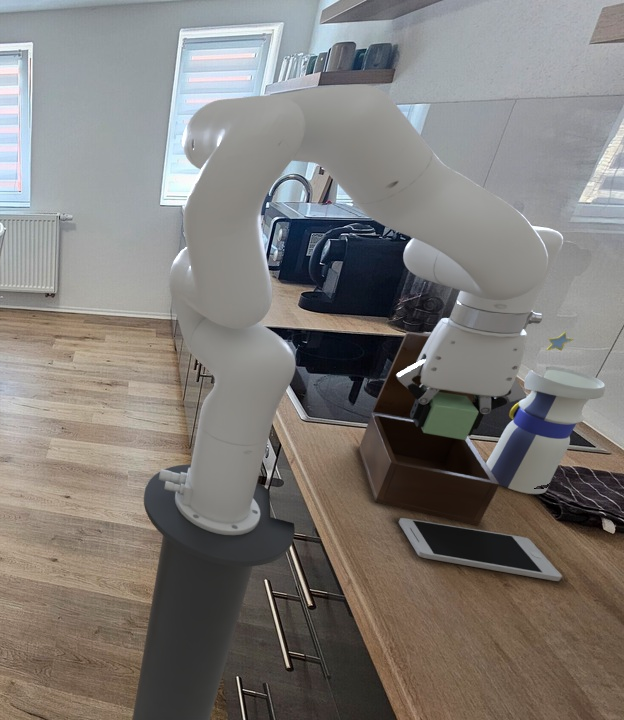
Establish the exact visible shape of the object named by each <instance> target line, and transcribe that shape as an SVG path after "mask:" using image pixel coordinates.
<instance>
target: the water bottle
mask: <svg viewBox="0 0 624 720" xmlns="http://www.w3.org/2000/svg"><path fill="white" fill-rule="evenodd" d="M548 341H549V342H550V343H551V344H550V345H549V346H548V347H547V348H546V351H550V350H554V349H556V350H558V351H560V352H561V351H563V349H564V346H565V344H567V343H570V342H572V341H574V338H570V337H567V332H566V331H564V332H563V333H561V334H560V335H559V336H558V337H551V338H548ZM523 383H524V385H523V388H524V389H525V390H529V391H531V392H529V394H528V395H526V397H525V398H523V399H520V400H518V402H516V403H515V404H514V405H513V406H512V407H511V409H510V410H509V413H508V416H509V418H510V419H511V421H510V422H509V423H508V424H507V425H506V427H505V428H504V430H503V432H502V434H501V435H500V437H499V440H498V442H497V443H496V445H495V447H494V448H493V450H492V452H491V453H490V455H489V457H488V459H487V461H486V462H485V463H486V464H487V466H488V467H489V469H490V471H491V472H492V474H493V475H494V477H495V478H496V480H497V481H498V483H499V484H500V485H499V486H502V487H504V488H507V489H510V490H513V491H516V492H520V493H524V494H530V495H540V494H544V493H546V492H547V490H548V489H549V486H548V487H547V488H544V489H534V488H536V487H537V486H541V485H547V484H549V483H550V484H551V481H552V480H553V477H554V475H555V474H556V472H557V469H558V467H559V465H560V463H561V461H562V460H563V458H564V456H565V454H566V453H567V451H568V448H569V446H570V444H571V437H570V436H571V435H572V432H573V431H574V429H575V427H576V426H577V424H580V423H583V421H584V419H585V417H584V415H583V409H584V406H585V405H586V404H587V403H588V401H589V400H596V399H597V400H598V399H601V398H602V397H603V396H604V395H605V388H606V384H605V383H604V381H602V380H600V379H599V378H597V377H595V376H592V375H589V374H587V373H584V372H581V371H578V370H574V369H570V368H565V367H559V366H553V365H551V366H546V367H545V371H544V373H543V375H539V374H537V373H536V372H535V371H534V370H533V369H530V370H529V371H528V373H526V376H525V378H524V380H523ZM550 484H549V485H550Z"/></svg>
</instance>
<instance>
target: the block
mask: <svg viewBox="0 0 624 720" xmlns="http://www.w3.org/2000/svg"><path fill="white" fill-rule="evenodd" d="M429 404H430V406H431V409H430V411H429V414H428V416H427V418H426V421H425V423H424V426H423V427H421V428H422V430H423V432H424V433H428V434H433V435H439V436H445V437H450V438H456V439H462V440H466V438H467V436H468V434H469V432H470V430H471V428H472V425H473V423H474V421H475V419H476V417H477V415H478V413H479V412H478V410H477V409H476V408H475V406H474V405H473V404H472V402H471V401H470V400H469V398H468V397H467V396H462V395H455V394H449V393H442V392H438V393H437V394H436V395H435V396H434V397H433V398H432V399H431V400H430V403H429ZM468 437H469V436H468Z"/></svg>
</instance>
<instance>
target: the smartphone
mask: <svg viewBox="0 0 624 720" xmlns="http://www.w3.org/2000/svg"><path fill="white" fill-rule="evenodd" d="M398 524H399V526H400V527H401V529H402V531H403V533H404V534H405V536H406V537H407V539H408V541H409V542H410V544H411V546H412V547H413V549H414V551H415V553H416V554H417V556H418V557H419V558H423V559H428V560H433V561H440V562H445V563H450V564H451V563H452V564H456V565H462V566H468V567H474V568H479V569H485V570H490V571H496V572H503V573H507V574H514V575H520V576H525V577H530V578H537V579H542V580H547V581H553V582H559V581H561V579H562V578H563V575H562V574H561V572H559V571H558V570H557V568H556V567H555V566H554V565H553V564H552V563H551V562H550V560H549V559H548V558H547V557H546V556H545V555H544V554H543V552H541V550H540V549H539V548H538V547H537V546H536V545H535V543H533V541H532V540H531V539H529V538H528V537H525V536H519V535H513V534H508V533H507V534H506V533H500V532H494V531H487V530H482V529H475V528H470V527H469V528H468V527H462V526H455V525H449V524H444V523H437V522H431V521H425V520H419V519H413V518H412V519H411V518H405V517H400V518H399V521H398Z"/></svg>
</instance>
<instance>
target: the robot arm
mask: <svg viewBox="0 0 624 720" xmlns="http://www.w3.org/2000/svg"><path fill="white" fill-rule="evenodd" d="M182 148H183V153H184V155H185V157H186V159H187V161H188V162H189V163H190V164H191V165H192V166H194V167H195V168H197V169H199V170H200V171H199V173H198V174H197V176H196V178H195V180H194V182H193V185H192V187H191V188H190V191H189V193H188V195H187V198H186V201H185V205H184V209H183V215H182V220H183V221H182V226H183V235H184V239H185V244H186V247H185V248H184V249H182V250H181V251H180V252H179V253H178V255H176V257H175V259H174V260H173V262H172V264H171V268H170V270H169V275H168V276H169V277H168V282H169V283H168V284H169V286H168V287H169V291H170V296H171V299H172V303H173V307H174V310H175V311H174V312H175V314H176V318H177V321H178V325H179V329H180V333H181V335H182V338H183V341H184V344H185V346H186V348H187V350H188V351H189V353H190V355H192V357H194V358H195V360H197V361H198V362H199V363H200V364H201V365H202V366H203V367H204V368H205V369H206V370H207V371H208V372H209V373H210V374H211V375H212V376H213V378H214V386H213V388H212V389H211V391H210V392H209V393H208V394H207V395H206V397H205V398H204V400H203V402H202V406H201V409H200V413H199V418H198V425H197V430H196V436H195V440H194V441H195V443H194V446H193V452H192V457H191V462H190V464H191V468H188V472H187V473H183V472H181V474H178V473H174V472H172V471H168V470H164V469H165V468H164V469H163V468H160V470H159V472H160V475H159V480H161V481H165V482H166V483H165V488H164V489H166V490H170V491H175V492H176V494H175V503H176V506H177V508H178V510H179V511H180V512H181V514H182V515H183V516H184V517H185V518H186V519H187V520H189V521H190V522H192V523H193V524H195V525H196V526H198V527H200V528H202V529H205V530H207V531H210V532H213V533H217V534H222V535H241V534H245V533H248V532H250V531H252V530H253V529H254V528H255V527H256V526H257V525H258V522H259V519H260V509H259V506H258V504H257V503H256V501H255V500H254V499H253V496H254V492H255V488H256V484H257V483H258V480H259V477H260V472H261V469H262V465H263V462H264V457H265V454H266V450H267V445H268V441H269V439H270V434H271V430H272V426H273V423H274V419H275V416H276V413H277V410H278V408H279V405H280V403H281V401H282V399H283V397H284V395H285V393H286V391H287V390H288V388H289V386H290V384H291V383H292V381H293V378H294V376H295V372H296V366H297V365H296V363H297V362H296V357H295V355H294V351H293V349H292V348H291V346H290V345H289V344H288V343H287V342H286V340H284V339H283V338H282V336H279V334H277V333H276V332H274V331H272V330H271V329H270V328H268V327H266V326H265V325H263V324H262V323H260V322H262V320H263V319H264V318H265V317H266V315H267V314H268V312H269V311H270V308H271V306H272V303H273V285H272V280H271V275H270V270H269V269H270V268H269V264H268V258H267V254H266V253H267V252H266V247H265V242H264V236H263V227H262V209H263V206H264V202H265V200H266V197H267V196H268V193H269V191H270V190H271V188H272V187H273V185H274V184H275V182H276V181H277V180H278V179H279V177H280V176H281V175H282V174H283V172H285V170H286V169H287V167H288V166H289V165H290V164H291V163H292V162H300V163H312V164H315V165H316V164H317V165H318V166H320V167H321V168H322V169H323V170H324V171H325V172H326V173H327V175H328V176H329V177H330V178H331V179H332V180H334V182H335V183H336V184H337V185H338V186H339V187H340V188H341V189H342V191H343V192H345V194H346V195H347V196H348V197H349V198H350V199H351V200H352V202H353V203H354V204H355V205H356V206H357V207H358V209H359V210H360V211H361V212H362V213H363V214H364V215H365V216H366V217H368V218H370V219H371V220H373V221H374V222H377V224H380V225H381V226H384V227H385V228H388V229H389V230H392V231H394V232H397V233H399V234H402V235H404V236H408V237H410V238H411V239H410V240H409V241H408V243H407V244H406V246H405V248H404V251H403V257H402V259H403V263H404V266H405V267H406V269H407V270H408V271H409V272H410V273H411V274H412V275H414V276H416V277H418V278H420V279H422V280H426V281H429V282H432V283H435V284H438V285H441V286H444V287H448V288H452V289H455V290H458V291H459V293H458V295H457V297H456V301H455V303H454V306H453V308H452V310H451V313H450V316H449V317H448V318H447V317H443V318H441V319H440V320H439V321H438V322H437V324H436V326H435V327H434V328H433V330H432V331H431V332H430V333H431V335H430V337H429V338H428V340H427V342H426V344H425V346H424V347H423V349H422V351H421V353H420V355H419V357H418V360H417V362H416V363H415V364H413V365H412V366H410V367H408V368H406V369H404V370H403V371H401V372H399V373H397V375H396V377H397V379H398V380H399V381H400V382H401V383H402V384H403V385H404V386H405V387H406V388H407V389H409V391H410V392H411V393H412V394H413V395H414V397H415V398H416V400H415V402H414V405H413V407H412V410H411V412H410V417H411V418H410V420H413V421H414V423H415V425H416V426H417V427H420V428H421V427H423V426H424V423H425V421H426V418H427V416H428V414H429V411H430V409H431V406H430V404H429V403H430V400H431V399H432V398H433V397H434V396H435V395H436V394H437V393H438V391H439V390H440V389H441V390H447V391H454V392H461V393H468V394H473V403H472V404H473V405H474V406H475V408H476V409H477V410H478V412H479V413H478V415H477V417H476V419H475V421H474V423H473V425H472V428H471V430H470V432H469V434H468V437H471V436H472V434H473V432H474V430H478V428H479V426H480V424H481V422H482V420H483V418H484V416H485V415H488V414H490V413H491V412H492V411H493V410H495V409H499V408H500V407H501V408H502V407H503V406H506V405H507V404H509V403H514V402H516V401H521V400H522V399H525V398H526V397H527V393H526V392H525V390H524V389H523V387H522V385H521V384H520V382H519V381H518V379H517V375H518V373H519V370H520V367H521V365H522V361H523V359H524V358H523V357H524V355H525V354H524V353H525V350H526V345H527V339H528V338H527V335H528V333H527V331H526V328H527V326H528V325H532V324H537V325H539V324H540V323H541V322H542V320H543V314H542V313H536V312H534V311H533V309H534V306H535V304H536V303H537V300H538V298H539V296H540V294H541V292H542V290H543V288H544V286H545V284H546V282H547V279H548V277H549V275H550V273H551V271H552V268H553V266H554V265H555V262H556V261H557V258H558V256H559V254H560V252H561V250H562V246H563V244H564V237H563V234H561V233H560V232H559V231H557V230H555V229H552V228H549V227H543V226H537V225H536V226H535V225H531V223H530V222H529V220H528V219H527V218H526V217H525V216H524V215H523V214H522V213H521V212H519V211H518V210H517V208H515V207H513V206H512V205H511V204H509V202H507V201H505V200H504V199H502V198H501V197H499V196H498V195H496V194H494V193H492V192H491V191H489V190H487V189H485V188H484V187H482V186H481V185H479V184H477V183H476V182H474V181H473V180H472V179H470V178H468V177H467V176H465V175H464V174H462V173H460V172H458V171H456V170H454V169H452V168H451V167H449V166H448V165H446V164H445V163H443V161H442V160H441V159H440V158H439V157H438V156H437V155H436V153H435V152H434V151H433V149H432V148H431V147H430V145H429V144H428V143H427V142H426V141H425V140H424V138H423V136H421V134H420V133H419V132H418V130H416V128H415V127H414V125H413V124H412V123H411V121H410V120H409V119H408V118H407V116H406V115H405V114H404V112H403V111H402V110H401V109H400V107H398V105H397V104H396V103H395V101H394V100H393V99H392V97H391V96H389V94H387V93H386V92H385V91H384V90H382V89H381V88H378V87H377V86H374V85H370V84H359V83H357V84H344V85H336V86H324V87H315V88H307V89H302V90H295V91H289V92H282V93H276V94H275V93H273V94H267V95H253V96H252V95H251V96H244V97H235V98H225V99H217V100H214V101H211V102H209V103H207V104H205V105H204V106H202V107H200V108H199V109H198V110H197V111H196V112H195V113H194V114H193V115H192V116H191V117H190V119H189V120H188V122H187V124H186V126H185V129H184V131H183V136H182ZM417 375H419V376H421V380H420V381H421V383H422V384H421V385H420V386H418V385H417V383H416V382H414V381H413V380H412V378H414V377H415V376H417ZM174 483H176V484H174ZM178 484H179V485H178Z"/></svg>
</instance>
